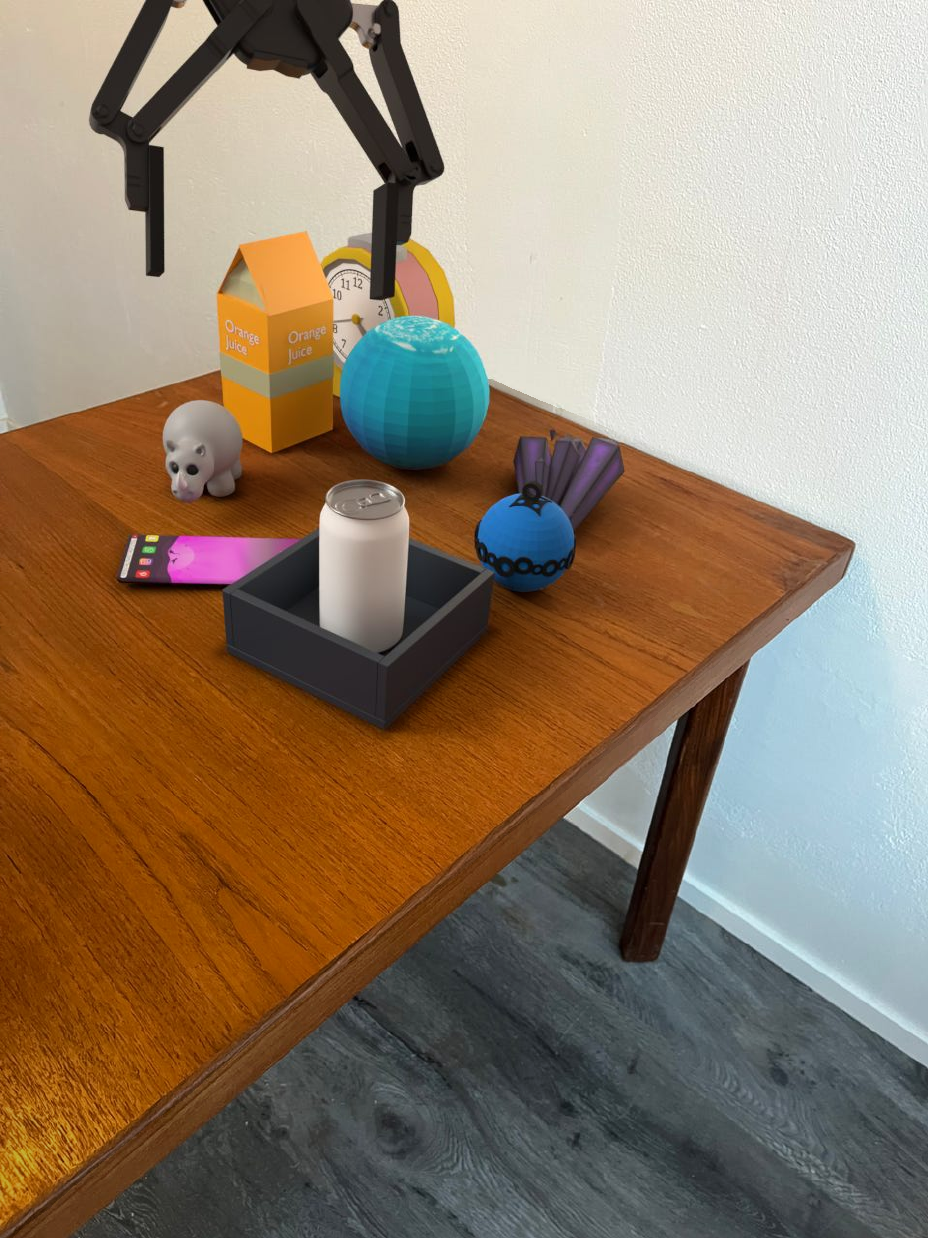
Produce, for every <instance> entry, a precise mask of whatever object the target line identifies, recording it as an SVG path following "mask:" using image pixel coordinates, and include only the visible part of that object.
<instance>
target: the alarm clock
mask: <svg viewBox="0 0 928 1238" xmlns="http://www.w3.org/2000/svg"><path fill="white" fill-rule="evenodd" d="M371 244H372V232H368V233H367V232H366V233H362V234H355V235H352V236H348V238H347V245H345V246H341V247H338V248H337V249H335V250H334V251H332V252H331V253H329V254H327V255H326V256H323V258H322V260H321V262H320V265H321V268H322V270H323V273H324V275H325V277H326V280H327V282H328V285H329V287H330V290H331V292H332V295H333V297H334V306H333V354H334V377H333V396H336V397H339V398H340V380H341V373H342V370H343V366H344V363H345V361H346V359H347V357H348V355H349V353H350V352H351V350H352V349H353V348H354V346H355V345H356V344H357V342H358V341H359V340H360V339H361V338H362V337H363V336H364V335H365V334H366V333H367V332H368V331H369V330H371V329H372V328H374V327H375V326H377V325H379V324H381V323H383V322H386V321H388V320H390V319H394V318H398V317H404V316H424V317H429V318H433V319H436V320H439V321H442V322H444V323H446V324H448V325H450V326H452V327H453V328H455V327H456V317H455V316H456V315H455V304H454V303H455V300H454V295H453V292H452V289H451V287H450V284H449V280H448V278H447V275H446V272H445V270H444V268H443V267H442V266H441V265H440V263H439V262H438V261H437V259H436V257H434V255H433V254H432V253H431V251H430V250H429V249H428V248H426V247H425V246H423V245H422V244H420V243H419V242H417V241H416V240H414V239H412V238H410V239H409V241H408V242H407V243H405V244H402V245H397V248H396V274H395V297H392V298H388V299H384V300H371V299H370V273H371Z"/></svg>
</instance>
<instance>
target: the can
mask: <svg viewBox="0 0 928 1238" xmlns="http://www.w3.org/2000/svg"><path fill="white" fill-rule="evenodd" d="M405 503H406V498H405V496H404V494H403V493H402V492H401V490H399V489H398V488H397V487H396V486H393V485H392V484H389V483H386V482H384V481H380V480H373V479H352V480H346V481H342V482H339V483H336V484H334V485H333V486H332V487H330V489H328V491H326V494H325V503H324V505H323V506H322V508H321V510H320V513H319V526H318V528H319V606H320V627H321V628H324V629H326V630H328V631H330V632H332V633H334V634H337V635H339V636H341V637H343V638H345V639H347V640H350V641H352V642H354V643H356V644H358V645H360V646H363V647H365V648H367V649H369V650H371V651H374V652H376V653H378V654H380V653H383V652H385V651H387V650H389V649H390V648H391V647H393V646H394V645H395V644H396V643H397V642H398V641H399V640H400V638H401V636H402V632H403V622H404V608H405V592H406V576H407V559H408V541H409V538H410V516H409V513H408V511H407V509H406V506H405Z"/></svg>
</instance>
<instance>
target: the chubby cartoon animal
mask: <svg viewBox="0 0 928 1238" xmlns="http://www.w3.org/2000/svg"><path fill="white" fill-rule="evenodd" d="M162 444H163V449H164V452H165V454H166V457H165V470H166V472H167V474H168V475H169V477H170V478H171V486H170V489H171V492H172V495H173V497H174V498H176V499H177V500H178V501H180V502H182V503H192V502H196V501H197V500H198V499H200V498H201V496H202V495H203V491H204V485H205V484H206V488H207V491H208V493H209V494H210V495H211V496H213V497H216V498H223V497H227V496H229V495H231V494H233V493H234V491H235V489H236V483H235V480H237V479H239V478H240V477H241V476H242V474H243V466H242V465H243V464H242V462H241V460H240V456H241V454H242V449H243V438H242V433H241V429H240V426H239V424H238V422H237V420H236V419H235V417H234V416H233V415H232V414H231V413H230V412H229V411H228V410H227V409H226V408H224V405H221V404H219V403H217V402H214V401H210V400H206V399H205V400H204V399H197V400H196V399H195V400H190V401H187V402H185V403H182V404H181V405H179V406H178V407H176V408H175V409H174V410H173V411H172V412H171V413H170V415H169V416H168V417H167V419H166V421H165V423H164V426H163V430H162Z"/></svg>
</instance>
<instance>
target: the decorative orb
mask: <svg viewBox="0 0 928 1238" xmlns="http://www.w3.org/2000/svg"><path fill="white" fill-rule="evenodd" d="M339 401H340V409H341V414H342V418H343V422H344V423H345V425H346V427H347V429H348V431H349V432H350V434H351V435H352V437H353V438H354V439H355V441H356V442H357V443H358V445H359V446H360V448H362V449H363V450H364V451H365V452H366V453H367V454H369V455H370V456H372V457H373V458H375V459H376V460H377V461H380V462H381V463H383V464H385V465H389V466H391V467H394V468H396V469H402V470H407V471H421V470H422V471H423V470H428V469H434V468H436V467H439V466H443V465H445V464H447V463H449V462H452V461H453V460H454V459H456V458H457V457H458V456H459V455H461V454H462V453H463V452H465V451H466V450H467V449H468V448H469V447H470V446H471V445H472V444H473V442H474V441H475V440H476V438H477V436H478V435H479V433H480V431H481V428H482V426H483V424H484V423H485V420H486V417H487V415H488V409H489V404H490V385H489V379H488V376H487V371H486V368H485V366H484V363H483V360H482V358H481V355H480V354H479V352H478V350H477V348H476V347H475V346H474V345H473V343H471V341H470V340H469V339H468V338H466V336H464V334H463V333H461V331H459V330H457V329H456V328H455V327H454V328H453V327H452V326H450V325H448V324H446V323H444V322H442V321H439V320H436V319H433V318H429V317H424V316H404V317H398V318H394V319H390V320H388V321H386V322H383V323H381V324H379V325H377V326H375V327H374V328H372V329H371V330H369V331H368V332H367V333H366V334H365V335H364V336H363V337H362V338H361V339H360V340H359V341H358V342H357V344H356V345H355V346H354V348H353V349H352V350H351V352H350V353H349V355H348V357H347V359H346V361H345V363H344V366H343V370H342V373H341V380H340V397H339Z"/></svg>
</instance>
